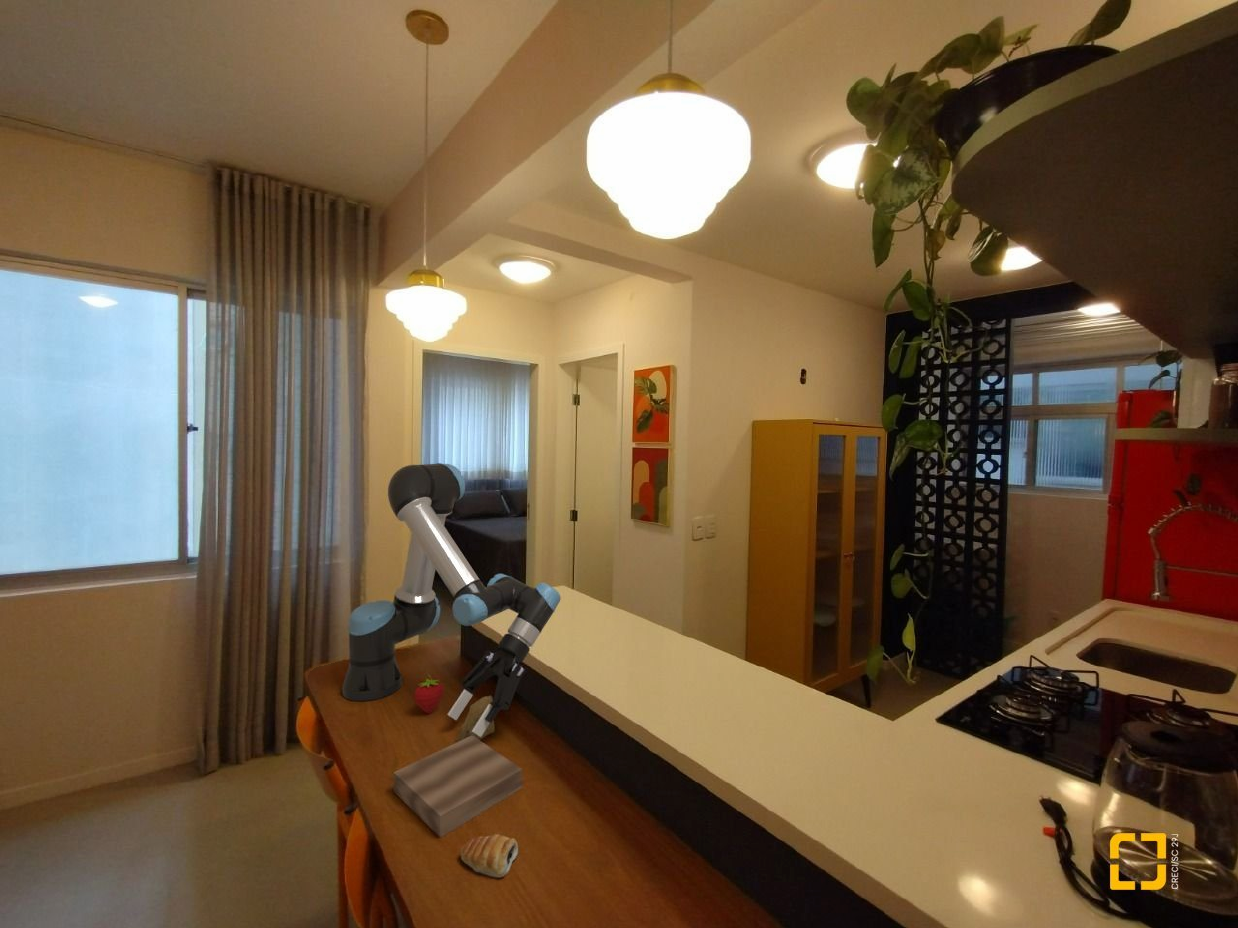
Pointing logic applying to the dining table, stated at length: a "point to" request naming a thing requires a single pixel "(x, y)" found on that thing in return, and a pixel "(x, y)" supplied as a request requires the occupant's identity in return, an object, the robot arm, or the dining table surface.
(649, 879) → the dining table surface
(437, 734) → the dining table surface
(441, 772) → the walnut base
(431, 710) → the strawberry
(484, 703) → the rock
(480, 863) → the pastry
